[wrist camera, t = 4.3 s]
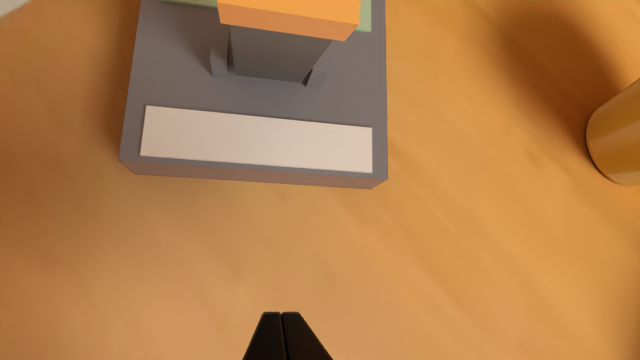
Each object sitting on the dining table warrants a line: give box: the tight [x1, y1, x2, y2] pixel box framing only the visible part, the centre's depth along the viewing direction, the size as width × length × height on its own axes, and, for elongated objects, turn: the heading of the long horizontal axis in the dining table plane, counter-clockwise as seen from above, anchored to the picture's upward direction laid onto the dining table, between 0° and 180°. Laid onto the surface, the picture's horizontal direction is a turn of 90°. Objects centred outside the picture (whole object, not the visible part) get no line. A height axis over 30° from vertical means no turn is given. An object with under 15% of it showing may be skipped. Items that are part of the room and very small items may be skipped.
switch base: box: [118, 0, 388, 189], centre depth 22 cm, size 12×14×5 cm
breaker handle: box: [217, 0, 361, 83], centre depth 16 cm, size 2×4×11 cm, turn 89°
